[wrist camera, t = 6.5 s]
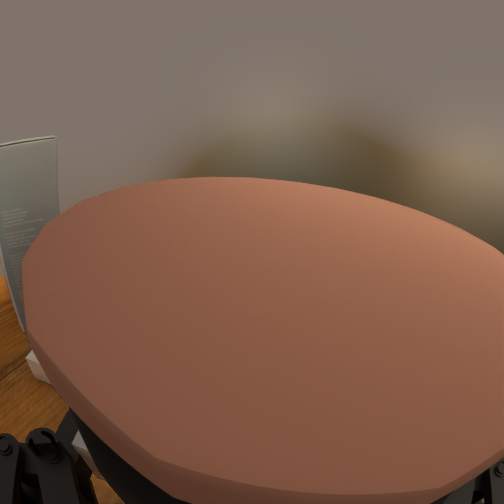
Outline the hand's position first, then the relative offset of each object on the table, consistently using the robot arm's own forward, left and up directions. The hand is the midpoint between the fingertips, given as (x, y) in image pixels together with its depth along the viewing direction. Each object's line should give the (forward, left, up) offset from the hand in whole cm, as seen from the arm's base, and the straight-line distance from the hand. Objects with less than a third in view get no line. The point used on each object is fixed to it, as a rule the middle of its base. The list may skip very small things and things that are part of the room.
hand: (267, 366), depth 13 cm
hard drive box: (+27, -16, -10) cm, 33 cm away
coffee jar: (0, +4, -10) cm, 11 cm away
